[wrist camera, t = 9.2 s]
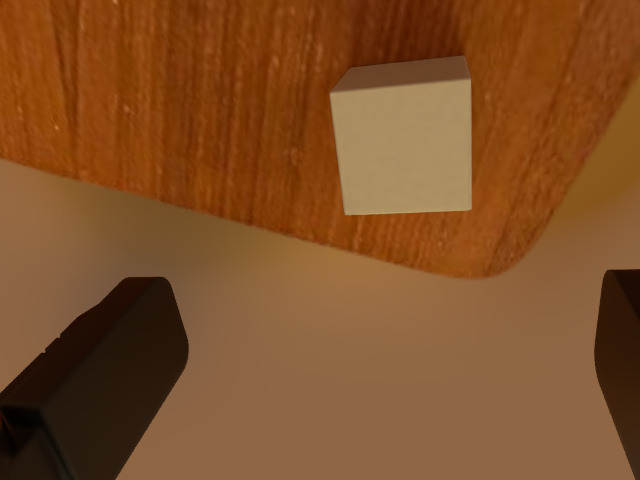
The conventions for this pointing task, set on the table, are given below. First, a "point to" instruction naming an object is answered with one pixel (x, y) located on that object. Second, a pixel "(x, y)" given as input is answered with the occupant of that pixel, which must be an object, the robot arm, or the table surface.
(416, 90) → the block
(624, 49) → the table surface
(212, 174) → the table surface
